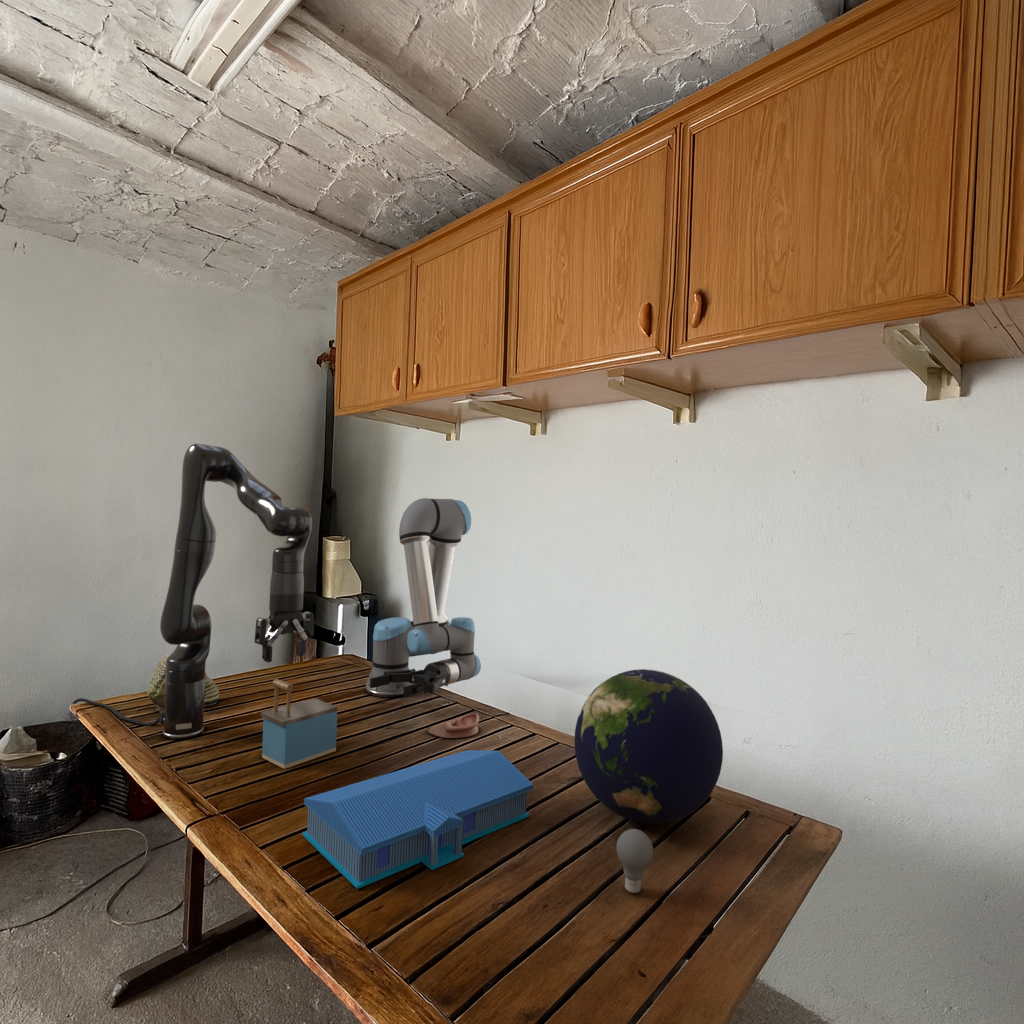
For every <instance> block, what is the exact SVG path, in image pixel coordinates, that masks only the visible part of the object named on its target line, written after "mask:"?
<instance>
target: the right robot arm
mask: <svg viewBox="0 0 1024 1024" xmlns="http://www.w3.org/2000/svg"><path fill="white" fill-rule="evenodd" d="M471 527H472V514H471V511H470V508H469V507H468V505H467V504H466V502H464V501H463V500H460V499H453V498H428V497H426V498H425V497H423V498H418V499H417V500H414V501H412V502H411V503H410V504H409V505H408V506H407V507H406V509H405V510H404V512H403V514H402V516H401V519H400V522H399V528H398V537H399V543H400V544H401V545H402V546H403V550H404V558H405V565H406V574H407V582H408V589H409V590H408V591H409V598H410V606H411V613H412V620H410V618H409V617H404V616H398V617H389V618H385V619H384V618H383V619H381V620H378V621H377V623H376V624H374V628H373V635H372V639H373V642H372V668H371V670H370V673H369V676H368V679H367V681H366V685H365V693H367V694H368V695H370V696H372V697H377V698H400V697H403V698H408V697H411V696H416V695H419V694H423V693H425V694H427V693H428V692H429V694H434V693H436V692H437V691H438V690H439V689H440V688H441V687H444V686H445V687H449V685H452V684H455V683H458V682H463V681H467V680H470V679H472V678H474V677H476V676H478V675H479V674H480V672H481V669H482V663H481V661H480V658H479V656H478V655H476V654H475V636H476V635H475V634H476V630H475V629H476V628H475V621H474V619H473V618H471V617H463V616H461V617H453V618H451V620H450V621H449V620H448V619H449V618H448V615H447V614H446V611H445V610H446V605H447V598H448V593H449V587H450V580H451V574H452V568H453V564H454V563H453V562H454V557H455V551H456V547H457V545H459V544H461V542H462V537H463V536H465V535H466V534H468V533H469V532H470V530H471ZM448 651H449V654H450V658H445V659H441V660H438V661H434V662H430V663H427V664H426V665H425V666H424V668H423V669H418V670H416V668H411V669H409V663H410V662H409V659H410V658H411V657H418V656H419V657H420V656H427V655H436V654H437V653H443V652H448Z"/></svg>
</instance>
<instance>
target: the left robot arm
mask: <svg viewBox="0 0 1024 1024" xmlns="http://www.w3.org/2000/svg"><path fill="white" fill-rule="evenodd" d="M181 469H182V470H181V495H180V496H181V498H180V508H179V517H178V523H177V528H176V529H177V530H176V534H175V540H174V541H175V542H174V549H173V558H172V566H171V572H170V577H169V584H168V589H167V593H166V598H165V601H164V605H163V608H162V612H161V616H160V623H159V631H160V634H161V637H162V638H163V640H164V641H165V642H166V643H167V644H169V645H172V646H176V647H175V649H173V651H172V652H171V653H170V654H168V655H169V656H168V658H167V660H166V674H165V705H164V710H162V711H159V710H158V712H159V713H158V717H157V718H156V719H155V720H154V721H151V722H144V721H141V720H136V719H133V718H131V717H127V716H125V715H124V714H122V713H120V712H119V711H118V710H116V709H115V707H113V706H111V705H108V704H106V703H102V702H98V701H93V700H92V699H91V700H90V699H87V698H82V697H81V698H79V697H78V698H76V699H74V701H72V703H71V704H72V705H76V704H77V703H79V702H83V703H87V704H90V705H93V706H98V707H102V708H105V709H107V710H109V711H110V712H112V713H113V714H114V715H115V716H117V717H118V718H120V719H122V720H124V721H126V722H129V723H132V724H136V725H139V726H147V727H148V726H150V727H151V726H155V725H157V724H158V723H160V725H163V730H162V737H164V738H166V739H169V740H185V739H190V738H191V739H192V738H194V737H197V736H199V735H202V734H203V732H204V730H205V729H204V727H205V725H204V722H205V721H204V718H205V706H204V693H205V672H206V664H207V663H206V662H207V658H208V656H209V654H210V649H211V639H212V617H211V614H210V612H209V610H208V609H207V608H206V607H205V606H203V605H201V604H196V603H195V604H194V602H195V598H196V593H197V590H198V588H199V585H200V584H201V582H202V580H203V579H204V577H205V575H206V573H207V572H208V570H209V568H210V566H211V564H212V562H213V559H214V555H215V549H216V543H217V530H216V526H215V524H214V521H213V519H212V517H211V515H210V512H209V510H208V507H207V505H206V500H205V498H206V497H205V495H206V493H205V492H206V483H207V482H212V483H218V482H220V483H223V484H225V485H227V486H229V487H231V488H233V489H234V490H235V493H236V497H237V499H238V501H239V502H240V503H241V505H243V507H245V508H246V509H247V510H248V511H249V512H251V513H252V514H254V515H255V517H257V518H258V519H259V521H260V523H261V524H262V526H263V527H264V529H265V530H266V532H268V533H270V534H271V535H273V536H276V537H286V539H285V541H284V544H282V545H280V546H277V547H275V548H274V549H273V551H272V556H271V557H272V558H271V573H270V574H271V575H270V581H269V583H270V584H269V605H268V606H269V607H268V610H269V616H268V617H265V618H263V617H257V618H256V619H255V620H256V621H255V631H254V643H255V644H257V645H260V646H262V647H261V648H262V649H261V651H262V652H261V654H262V655H261V658H262V660H263V662H266V663H272V661H273V644H274V642H275V641H276V640H277V639H278V638H279V637H280V635H286V634H294V636H295V637H296V638H297V639H296V643H295V644H296V646H295V655H296V656H298V657H304V656H305V653H306V649H307V648H306V645H307V640H308V639H309V638H313V637H314V635H315V626H314V625H315V623H314V622H315V621H314V619H315V618H314V617H315V616H314V613H313V612H311V611H307V610H306V611H304V612H302V611H303V609H304V586H305V585H304V584H305V579H304V559H305V558H304V557H305V553H306V552H305V551H306V549H307V546H308V542H309V539H310V536H311V533H312V528H313V519H312V516H311V513H310V511H309V510H308V509H307V508H306V507H303V506H284V502H283V501H284V500H283V499H282V497H281V496H280V495H279V494H278V493H276V492H275V491H273V490H272V489H271V488H269V487H268V486H267V485H265V484H264V483H263V482H261V481H260V480H259V479H257V478H256V477H255V476H254V475H253V474H252V472H250V471H249V470H248V469H247V468H246V467H245V465H243V464H242V462H240V460H239V459H238V458H237V457H236V456H235V455H234V454H233V453H232V452H231V451H230V450H229V449H227V448H226V447H222V446H217V445H211V444H204V443H193V444H190V445H189V446H188V447H187V449H186V450H185V453H184V456H183V460H182V468H181ZM302 622H303V627H302V625H301V623H302ZM269 625H270V626H269ZM268 627H269V628H268ZM267 628H268V629H267ZM97 702H98V703H97Z"/></svg>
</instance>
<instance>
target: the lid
mask: <svg viewBox="0 0 1024 1024" xmlns="http://www.w3.org/2000/svg"><path fill="white" fill-rule="evenodd" d="M271 685H272V686H273V687H274V695H273V696H274V697H273V708H271V709H268V710H265V711H261V712H260V717H261V718H262V719H263V718H265V719H268V720H270V721H272V722H274V723H277V724H279V725H281V726H286V725H290V724H293V723H297V722H300V721H303V720H307V719H310V718H314V717H317V716H321V715H324V714H328V713H331V712H334V711H337V712H338V706H337V705H334V704H332V703H329V702H326V701H323V700H321V699H318V698H316V697H315V698H314V697H313V698H310V699H307V700H302V701H299V702H296V703H292V702H291V701H292V692H293V690H294V685H293V684H292V683H290V682H286V681H283V680H281V679H278V678H276V679H274V680H273V681H272V683H271ZM279 690H283V691H285V692H286V705H284V706H280V707H279V692H280V691H279Z"/></svg>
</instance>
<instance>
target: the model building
mask: <svg viewBox="0 0 1024 1024" xmlns="http://www.w3.org/2000/svg"><path fill="white" fill-rule="evenodd" d="M532 790H534V783H532V782H531V781H530V780H529V779H528V778H527V776H525V775H524V774H523V773H522V772H521V771H520V770H519V769H518V768H517V767H516V766H515V765H514V764H513V763H512V762H511V761H510V760H509V758H507V757H506V756H505V755H504V754H503V753H502V752H501V751H500V750H484V749H483V750H481V749H479V750H477V749H474V750H473V749H470V750H469V749H467V750H463V751H460V752H456V753H452V754H450V755H446V756H443V757H439V758H436V759H433V760H429V761H427V762H423V763H420V764H416V765H413V766H410V767H406V768H402V769H399V770H396V771H392V772H389V773H386V774H382V775H379V776H376V777H372V778H369V779H365V780H362V781H359V782H355V783H352V784H348V785H346V786H342V787H338V788H336V789H332V790H328V791H325V792H321V793H318V794H315V795H312V796H308V797H304V798H303V805H304V806H305V807H307V830H305V831H302V836H303V837H304V838H305V839H306V840H307V841H308V842H309V843H310V844H311V845H312V846H313V847H314V848H315V849H316V850H317V851H318V852H319V853H320V854H321V855H322V856H323V857H324V858H325V859H326V860H327V861H328V862H329V863H330V864H331V865H332V866H333V867H334V868H335V869H336V870H337V871H338V872H339V873H340V874H341V875H343V877H345V879H346V880H347V881H348V882H350V883H351V885H352V886H354V887H355V888H356V890H359V889H361V888H364V887H365V886H368V885H371V884H373V883H376V882H378V881H380V880H381V879H385V878H387V877H390V876H391V875H394V874H396V873H400V872H401V871H403V870H406V869H408V868H411V867H413V866H415V865H418V864H420V863H422V865H424V866H426V867H427V868H428V869H429V870H431V871H434V870H436V869H438V868H440V867H443V866H445V865H447V864H450V863H452V862H455V861H456V860H459V859H461V858H463V857H465V853H464V852H463V845H465V844H468V843H471V842H472V841H475V840H477V839H480V838H481V837H484V836H486V835H489V834H492V833H493V832H496V831H498V830H501V829H503V828H505V827H508V826H510V825H513V824H515V823H517V822H520V821H522V820H525V819H527V818H529V817H530V816H531V814H530V813H529V812H528V811H527V801H528V798H527V797H528V792H530V791H532Z"/></svg>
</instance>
